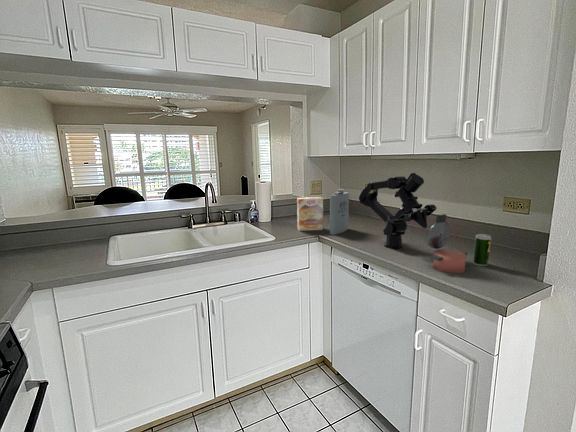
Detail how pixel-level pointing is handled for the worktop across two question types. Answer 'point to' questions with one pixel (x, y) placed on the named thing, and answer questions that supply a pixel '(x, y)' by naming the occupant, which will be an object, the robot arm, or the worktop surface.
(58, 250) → the worktop surface
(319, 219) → the coffeecake box
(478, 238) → the beer can
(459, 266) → the cooker pot
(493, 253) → the worktop surface
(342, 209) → the flask
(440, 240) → the cooker lid
